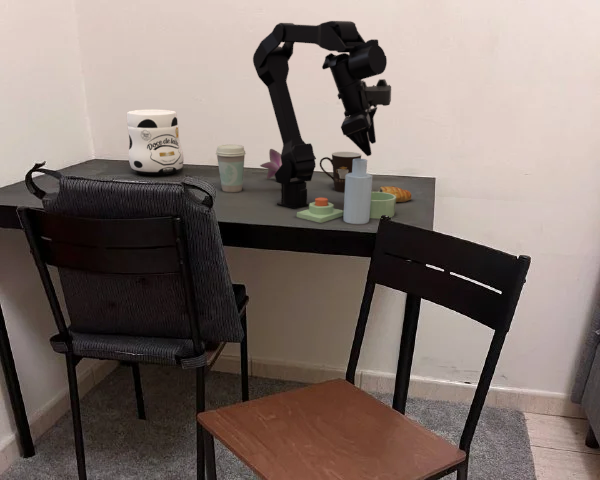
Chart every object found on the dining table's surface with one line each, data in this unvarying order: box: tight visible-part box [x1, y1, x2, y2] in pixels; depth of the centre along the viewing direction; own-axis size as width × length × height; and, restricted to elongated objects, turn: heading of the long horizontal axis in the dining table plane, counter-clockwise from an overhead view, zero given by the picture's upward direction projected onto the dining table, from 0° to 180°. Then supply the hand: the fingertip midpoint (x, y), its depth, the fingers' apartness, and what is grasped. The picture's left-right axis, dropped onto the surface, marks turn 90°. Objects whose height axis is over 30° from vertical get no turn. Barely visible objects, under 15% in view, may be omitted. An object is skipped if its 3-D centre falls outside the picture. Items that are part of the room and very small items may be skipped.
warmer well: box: [369, 191, 397, 220], centre depth 160 cm, size 10×10×4 cm
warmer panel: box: [296, 201, 344, 224], centre depth 157 cm, size 8×10×3 cm
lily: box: [259, 148, 282, 180], centre depth 190 cm, size 12×12×10 cm
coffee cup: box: [215, 144, 247, 193], centre depth 178 cm, size 8×8×12 cm
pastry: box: [377, 185, 412, 203], centre depth 173 cm, size 9×7×4 cm
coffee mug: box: [319, 151, 362, 193], centre depth 182 cm, size 12×9×10 cm
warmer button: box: [314, 197, 329, 206], centre depth 156 cm, size 3×3×2 cm
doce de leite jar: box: [126, 109, 185, 176], centre depth 196 cm, size 17×17×18 cm
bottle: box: [342, 158, 373, 225], centre depth 151 cm, size 6×6×14 cm
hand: (371, 149), depth 149 cm, fingers open, 9 cm apart
